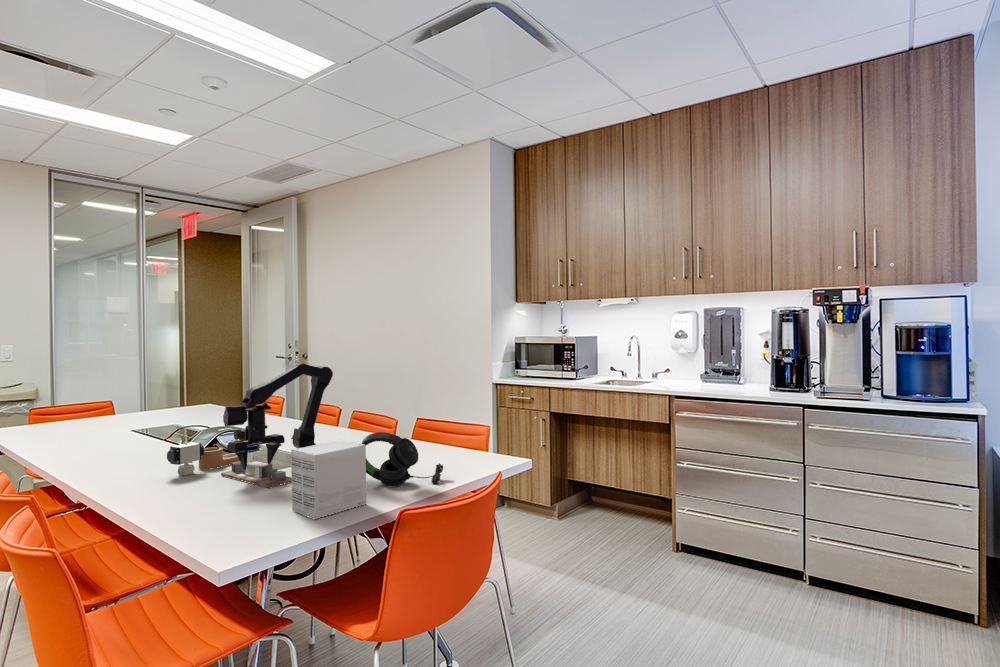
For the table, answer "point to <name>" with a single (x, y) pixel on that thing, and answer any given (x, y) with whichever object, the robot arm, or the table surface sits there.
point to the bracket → (216, 458)
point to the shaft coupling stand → (270, 481)
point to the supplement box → (328, 478)
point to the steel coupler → (257, 469)
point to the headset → (396, 460)
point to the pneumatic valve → (185, 456)
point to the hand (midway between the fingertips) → (257, 466)
